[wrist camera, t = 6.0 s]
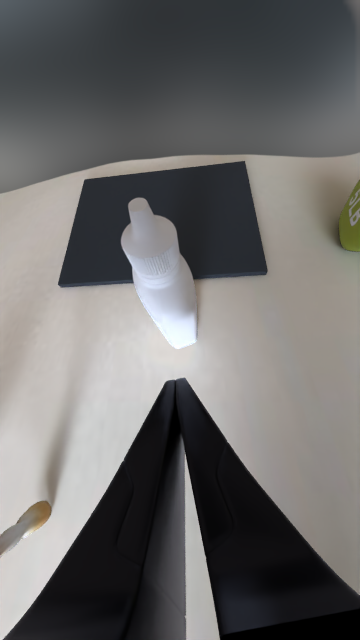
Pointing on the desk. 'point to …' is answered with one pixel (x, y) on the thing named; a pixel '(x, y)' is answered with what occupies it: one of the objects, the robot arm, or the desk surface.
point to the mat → (178, 207)
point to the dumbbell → (351, 222)
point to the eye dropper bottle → (161, 274)
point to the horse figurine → (25, 526)
